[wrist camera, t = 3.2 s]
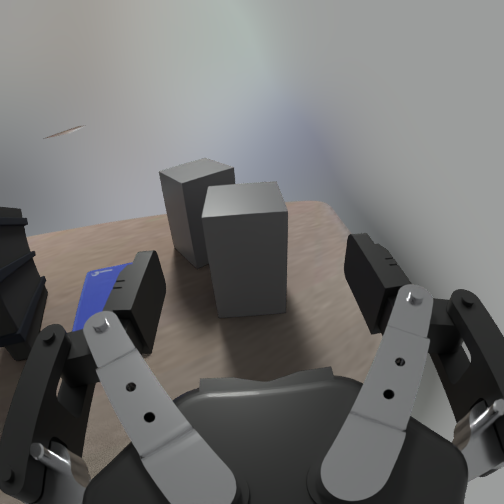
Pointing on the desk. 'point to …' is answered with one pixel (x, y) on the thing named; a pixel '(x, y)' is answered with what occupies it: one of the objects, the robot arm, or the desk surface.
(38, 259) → the desk surface
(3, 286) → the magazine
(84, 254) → the desk surface
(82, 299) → the hard drive
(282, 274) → the cube cover
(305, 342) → the desk surface
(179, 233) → the grey tall block
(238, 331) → the desk surface
